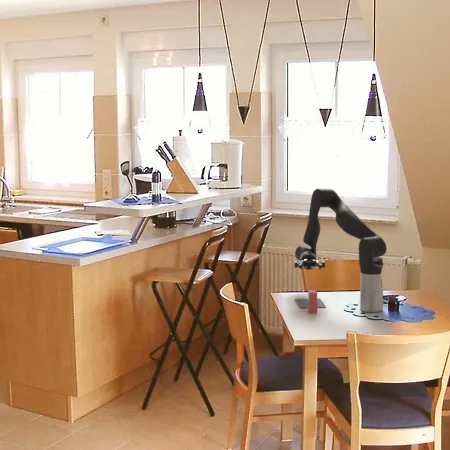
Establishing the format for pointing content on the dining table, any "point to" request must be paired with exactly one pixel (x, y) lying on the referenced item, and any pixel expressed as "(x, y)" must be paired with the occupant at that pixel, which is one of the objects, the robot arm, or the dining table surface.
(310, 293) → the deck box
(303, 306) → the mat
